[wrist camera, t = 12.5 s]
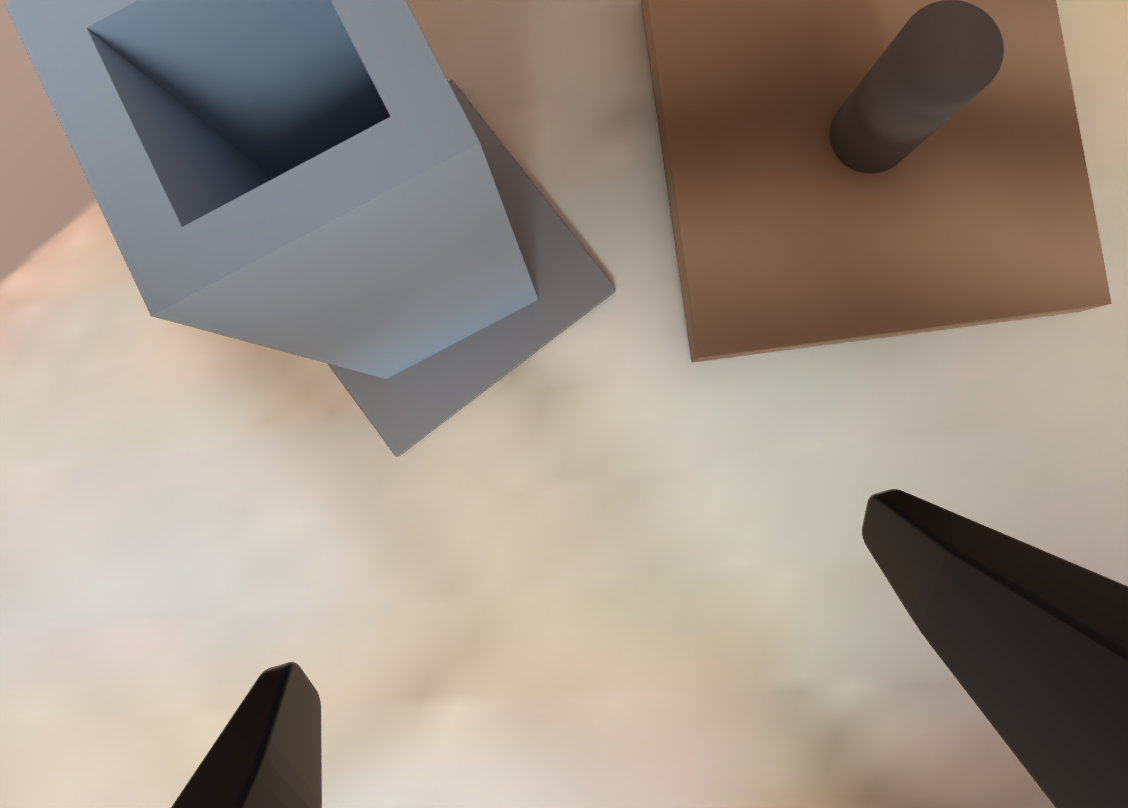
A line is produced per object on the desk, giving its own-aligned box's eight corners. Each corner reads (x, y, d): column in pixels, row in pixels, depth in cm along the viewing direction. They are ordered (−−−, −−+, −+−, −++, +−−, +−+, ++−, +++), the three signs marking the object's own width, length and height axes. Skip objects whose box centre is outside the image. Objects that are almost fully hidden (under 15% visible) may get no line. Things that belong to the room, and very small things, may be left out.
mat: (398, 456, 17) (395, 456, 17) (244, 245, 17) (238, 242, 17) (615, 291, 17) (615, 288, 17) (454, 85, 17) (451, 79, 17)
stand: (1079, 311, 16) (1266, 265, 12) (692, 362, 17) (729, 336, 12) (1013, -56, 17) (1167, -233, 12) (641, 2, 17) (659, -150, 13)
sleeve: (538, 299, 17) (479, 142, 8) (386, 379, 17) (150, 315, 8) (461, 152, 17) (318, -166, 8) (312, 230, 17) (4, 4, 8)
